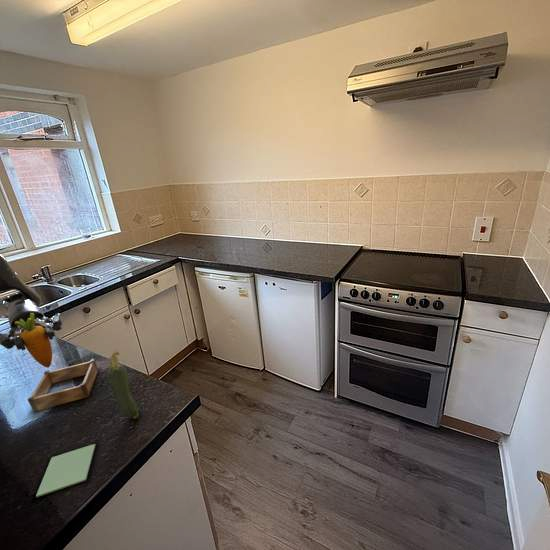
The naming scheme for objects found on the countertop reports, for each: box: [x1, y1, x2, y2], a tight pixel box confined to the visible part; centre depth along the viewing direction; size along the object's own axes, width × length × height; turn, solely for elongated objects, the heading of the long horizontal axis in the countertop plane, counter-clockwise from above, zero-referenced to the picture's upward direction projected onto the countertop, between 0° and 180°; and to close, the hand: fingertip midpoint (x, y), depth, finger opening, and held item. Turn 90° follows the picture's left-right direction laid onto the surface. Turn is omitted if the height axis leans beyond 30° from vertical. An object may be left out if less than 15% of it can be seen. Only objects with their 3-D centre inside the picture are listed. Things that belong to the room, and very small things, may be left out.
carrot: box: [15, 313, 53, 369], centre depth 73 cm, size 5×5×15 cm
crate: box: [27, 358, 99, 413], centre depth 89 cm, size 14×13×4 cm
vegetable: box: [106, 350, 139, 420], centre depth 74 cm, size 4×4×20 cm
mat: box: [35, 443, 96, 498], centre depth 65 cm, size 9×9×1 cm
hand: (36, 341), depth 71 cm, fingers closed on carrot, 5 cm apart
